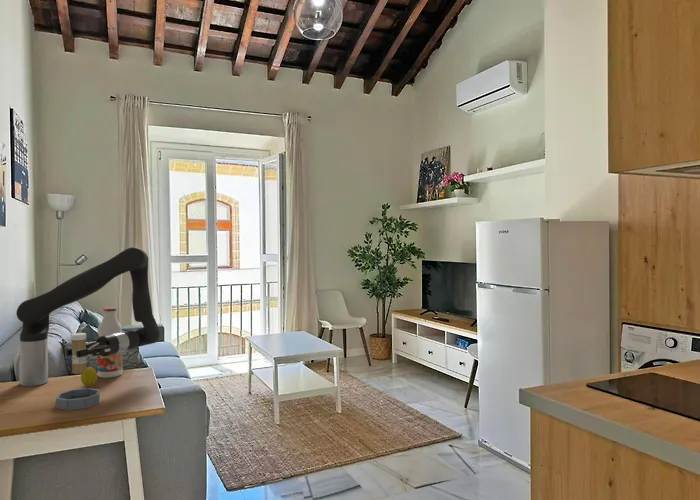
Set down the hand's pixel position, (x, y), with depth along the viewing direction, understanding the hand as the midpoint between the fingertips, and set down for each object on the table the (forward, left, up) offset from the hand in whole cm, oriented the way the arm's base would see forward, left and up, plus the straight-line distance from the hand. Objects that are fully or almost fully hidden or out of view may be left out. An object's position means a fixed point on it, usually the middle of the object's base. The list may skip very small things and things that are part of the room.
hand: (72, 353), depth 177 cm
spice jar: (0, +3, -7) cm, 8 cm away
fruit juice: (-20, +33, -18) cm, 43 cm away
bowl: (0, +2, -18) cm, 18 cm away
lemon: (-13, +17, -18) cm, 28 cm away
